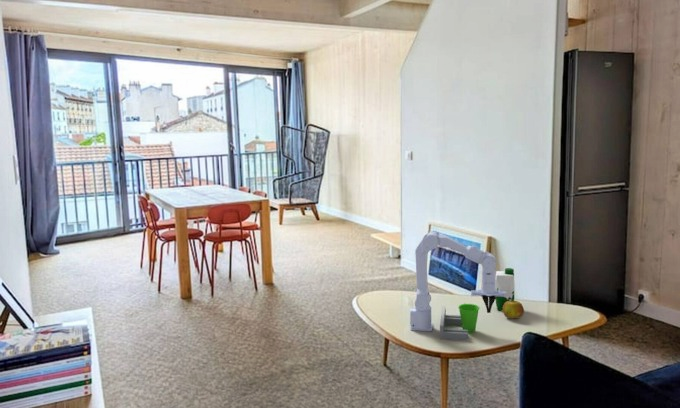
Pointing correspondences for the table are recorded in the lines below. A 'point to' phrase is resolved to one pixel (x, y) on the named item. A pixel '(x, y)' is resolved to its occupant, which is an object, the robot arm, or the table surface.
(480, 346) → the table surface
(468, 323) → the cup
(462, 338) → the rack
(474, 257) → the robot arm
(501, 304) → the milk carton
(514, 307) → the fruit
